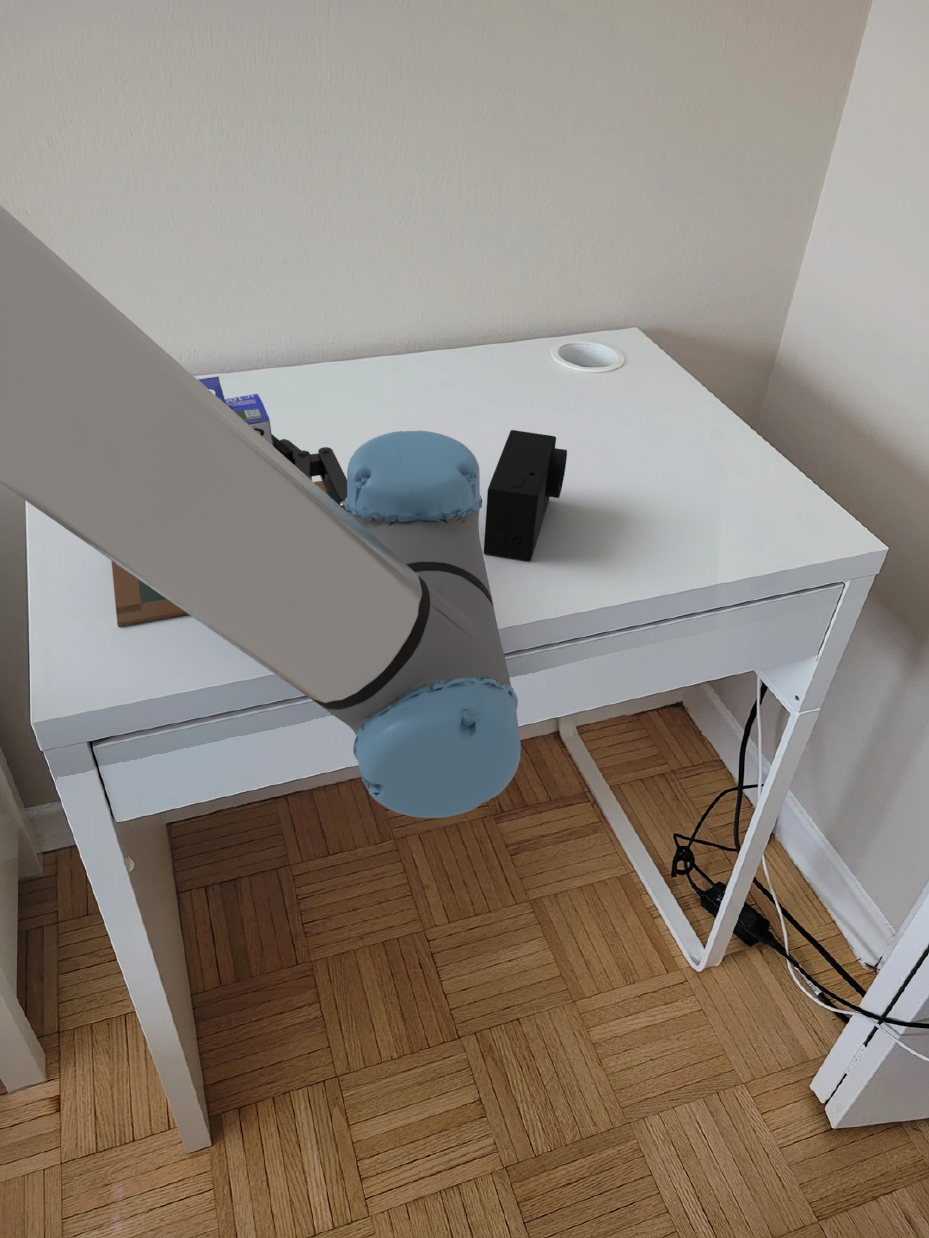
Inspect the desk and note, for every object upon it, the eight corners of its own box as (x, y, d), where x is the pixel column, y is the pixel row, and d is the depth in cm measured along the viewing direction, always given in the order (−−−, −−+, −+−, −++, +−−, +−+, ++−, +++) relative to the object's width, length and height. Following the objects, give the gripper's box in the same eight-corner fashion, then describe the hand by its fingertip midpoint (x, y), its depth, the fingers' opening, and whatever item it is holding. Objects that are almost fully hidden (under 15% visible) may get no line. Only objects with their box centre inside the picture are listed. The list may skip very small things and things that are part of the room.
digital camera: (543, 565, 83) (551, 498, 78) (483, 555, 84) (487, 488, 79) (561, 501, 91) (569, 437, 86) (505, 492, 92) (510, 428, 87)
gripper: (192, 691, 65) (68, 536, 77) (458, 568, 76) (312, 451, 89) (173, 606, 60) (45, 456, 72) (461, 489, 71) (306, 377, 84)
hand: (192, 453), depth 80 cm, fingers closed on ink cartridge box, 11 cm apart
